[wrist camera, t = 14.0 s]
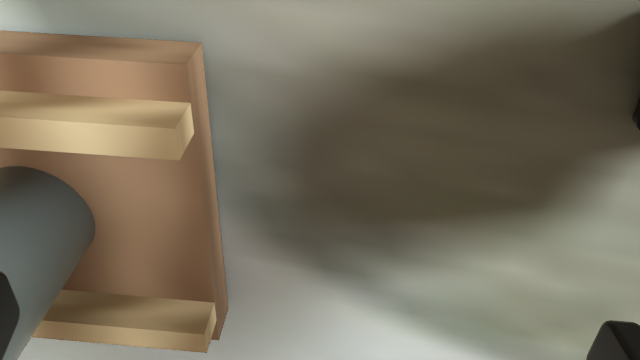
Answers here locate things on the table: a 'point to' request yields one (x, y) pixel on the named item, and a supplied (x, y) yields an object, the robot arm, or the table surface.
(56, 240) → the spectacles tube
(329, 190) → the table surface
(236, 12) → the table surface
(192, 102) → the display plinth
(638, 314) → the table surface
